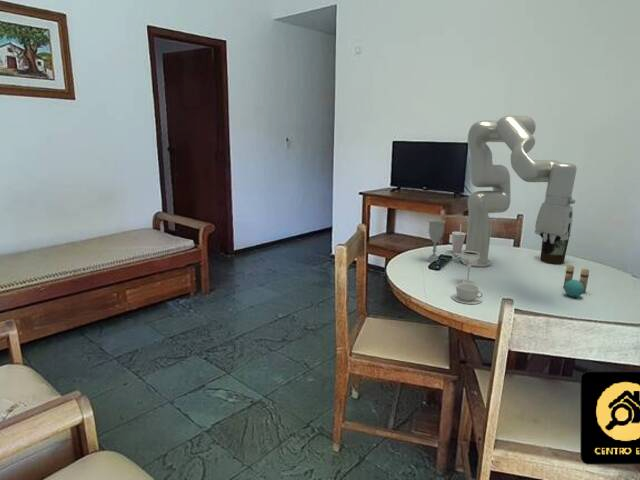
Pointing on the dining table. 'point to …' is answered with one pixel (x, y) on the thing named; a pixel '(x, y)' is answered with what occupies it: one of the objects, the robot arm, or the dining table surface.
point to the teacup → (467, 293)
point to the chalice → (435, 235)
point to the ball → (574, 288)
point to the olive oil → (555, 252)
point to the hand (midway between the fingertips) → (547, 253)
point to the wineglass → (469, 261)
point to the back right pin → (584, 278)
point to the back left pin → (568, 274)
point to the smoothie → (458, 240)
